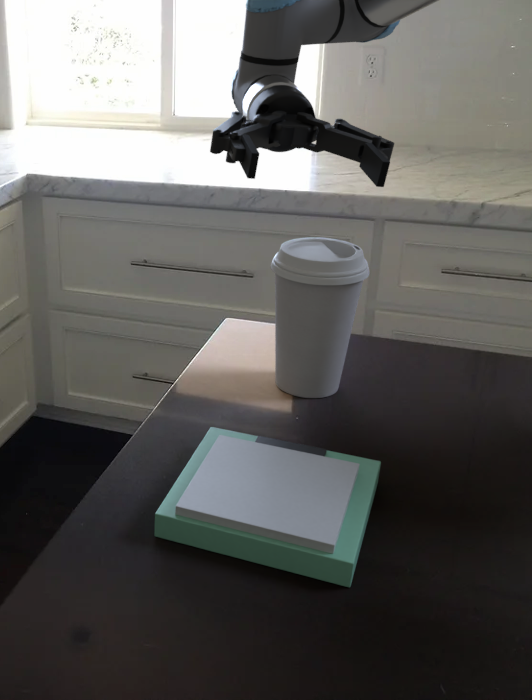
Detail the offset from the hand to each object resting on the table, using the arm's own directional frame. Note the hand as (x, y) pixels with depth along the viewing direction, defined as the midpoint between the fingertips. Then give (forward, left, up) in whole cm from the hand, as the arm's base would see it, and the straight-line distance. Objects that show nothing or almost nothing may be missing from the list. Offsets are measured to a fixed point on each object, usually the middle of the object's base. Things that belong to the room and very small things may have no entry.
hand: (318, 170), depth 90 cm
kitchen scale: (+20, +24, -21) cm, 38 cm away
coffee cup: (+4, +6, -21) cm, 23 cm away
